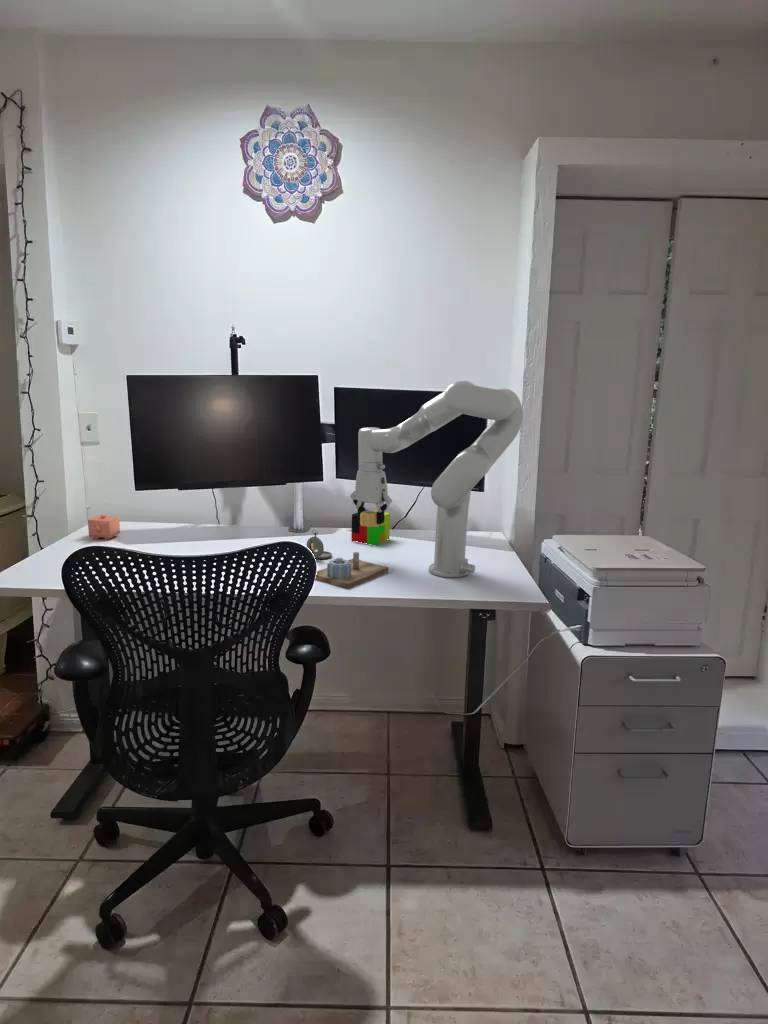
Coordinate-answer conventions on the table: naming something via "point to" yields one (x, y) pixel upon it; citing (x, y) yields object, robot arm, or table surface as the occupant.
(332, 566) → the gear
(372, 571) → the gear board
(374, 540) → the puzzle toy
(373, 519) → the gear
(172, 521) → the table surface
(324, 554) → the pocket watch
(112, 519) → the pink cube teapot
